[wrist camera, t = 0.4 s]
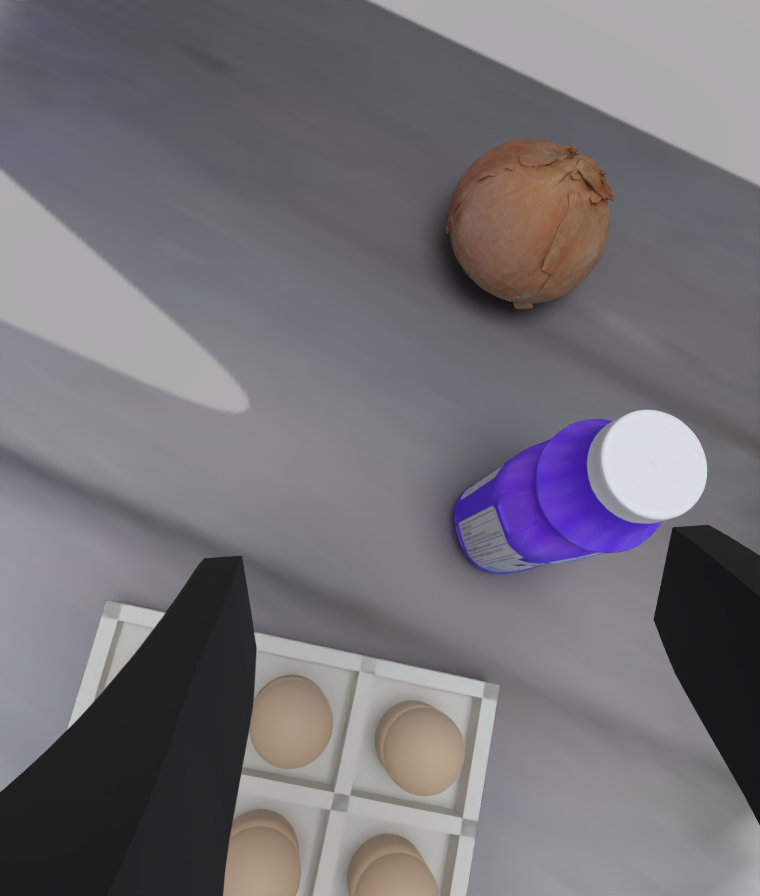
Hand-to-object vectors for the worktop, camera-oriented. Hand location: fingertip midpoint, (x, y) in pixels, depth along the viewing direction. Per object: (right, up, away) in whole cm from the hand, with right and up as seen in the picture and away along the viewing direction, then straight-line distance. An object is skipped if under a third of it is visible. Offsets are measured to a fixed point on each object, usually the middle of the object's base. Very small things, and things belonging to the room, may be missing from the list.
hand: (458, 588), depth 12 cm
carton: (-7, -15, +25) cm, 30 cm away
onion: (+7, +15, +34) cm, 38 cm away
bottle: (+6, -2, +30) cm, 31 cm away
